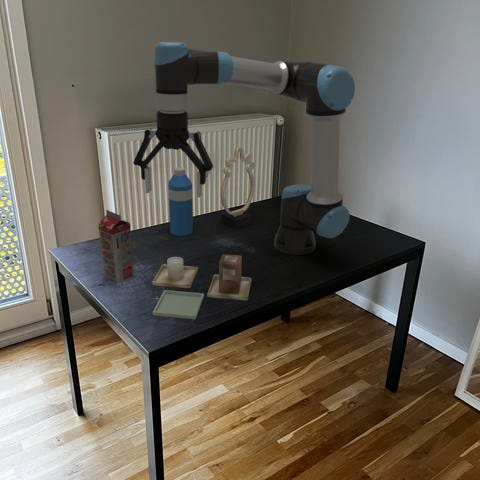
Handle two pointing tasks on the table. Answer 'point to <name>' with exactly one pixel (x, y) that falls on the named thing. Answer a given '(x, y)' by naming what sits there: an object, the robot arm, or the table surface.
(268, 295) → the table surface
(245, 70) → the robot arm
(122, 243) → the juice carton
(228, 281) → the letter block
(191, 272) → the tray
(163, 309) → the tray
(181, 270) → the white dome
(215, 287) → the tray
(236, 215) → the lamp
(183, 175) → the water bottle
